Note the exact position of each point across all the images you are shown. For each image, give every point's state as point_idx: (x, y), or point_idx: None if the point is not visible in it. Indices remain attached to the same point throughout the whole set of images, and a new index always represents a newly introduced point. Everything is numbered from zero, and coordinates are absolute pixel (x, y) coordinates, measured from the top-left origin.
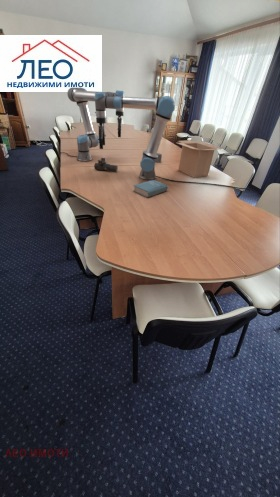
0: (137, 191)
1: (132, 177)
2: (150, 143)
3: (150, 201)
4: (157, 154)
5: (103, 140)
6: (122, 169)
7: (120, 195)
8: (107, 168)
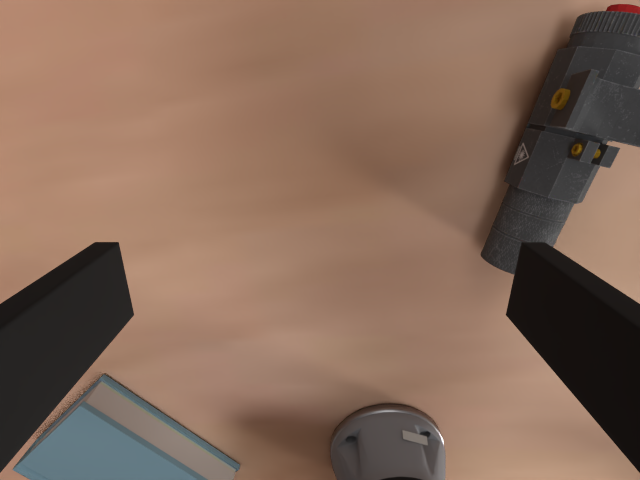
0: (82, 400)
1: (370, 363)
2: None
3: None
4: None
5: (588, 359)
6: None
7: None
8: (514, 176)
